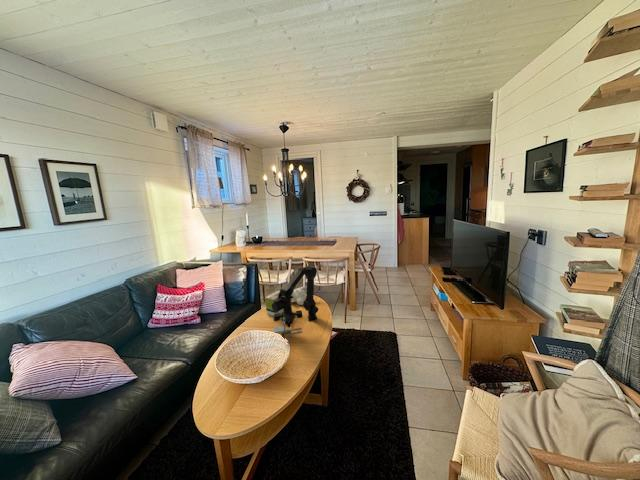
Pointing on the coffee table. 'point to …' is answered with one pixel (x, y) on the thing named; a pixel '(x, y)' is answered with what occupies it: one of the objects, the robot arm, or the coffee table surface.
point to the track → (292, 331)
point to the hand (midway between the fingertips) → (289, 327)
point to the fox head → (299, 295)
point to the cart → (279, 328)
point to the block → (288, 335)
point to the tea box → (269, 302)
